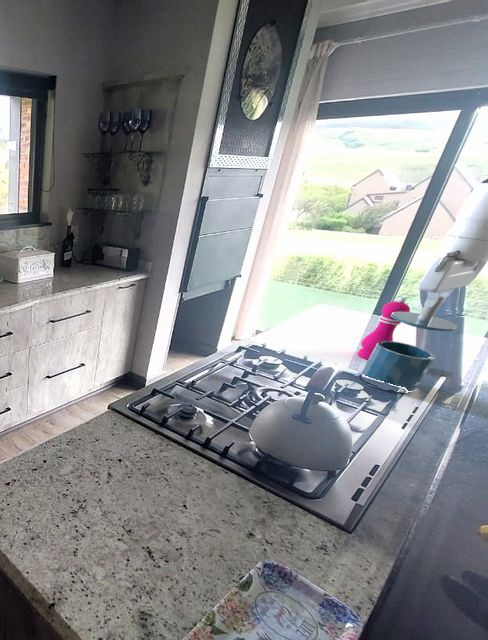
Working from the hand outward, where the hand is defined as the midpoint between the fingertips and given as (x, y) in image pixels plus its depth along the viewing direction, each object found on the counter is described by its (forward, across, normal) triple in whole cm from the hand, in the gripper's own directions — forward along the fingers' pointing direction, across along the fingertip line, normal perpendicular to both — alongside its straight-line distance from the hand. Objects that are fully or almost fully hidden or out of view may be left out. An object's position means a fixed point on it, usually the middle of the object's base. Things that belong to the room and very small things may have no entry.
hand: (432, 305), depth 103 cm
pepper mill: (+23, +16, +11) cm, 30 cm away
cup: (+23, 0, 0) cm, 23 cm away
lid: (+5, 0, 0) cm, 5 cm away
